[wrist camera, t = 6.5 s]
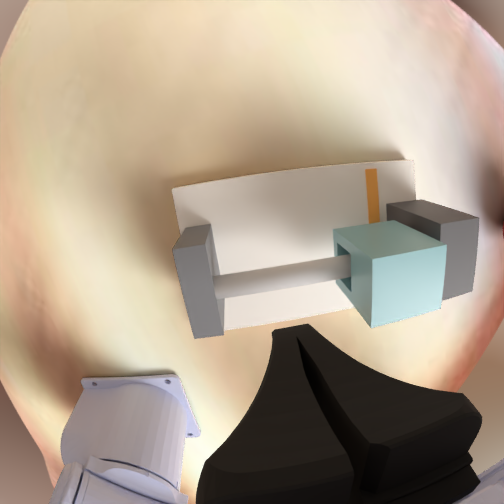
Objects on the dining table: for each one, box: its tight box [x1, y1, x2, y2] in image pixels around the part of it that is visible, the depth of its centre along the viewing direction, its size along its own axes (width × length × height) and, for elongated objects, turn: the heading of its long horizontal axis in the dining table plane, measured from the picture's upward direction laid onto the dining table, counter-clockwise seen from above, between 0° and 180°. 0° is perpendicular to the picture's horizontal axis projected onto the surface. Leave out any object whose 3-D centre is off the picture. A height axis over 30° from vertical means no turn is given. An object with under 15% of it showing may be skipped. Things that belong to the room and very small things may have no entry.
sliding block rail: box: [172, 160, 479, 339], centre depth 17 cm, size 16×10×7 cm, turn 98°
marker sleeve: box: [333, 220, 447, 328], centre depth 15 cm, size 4×3×5 cm
